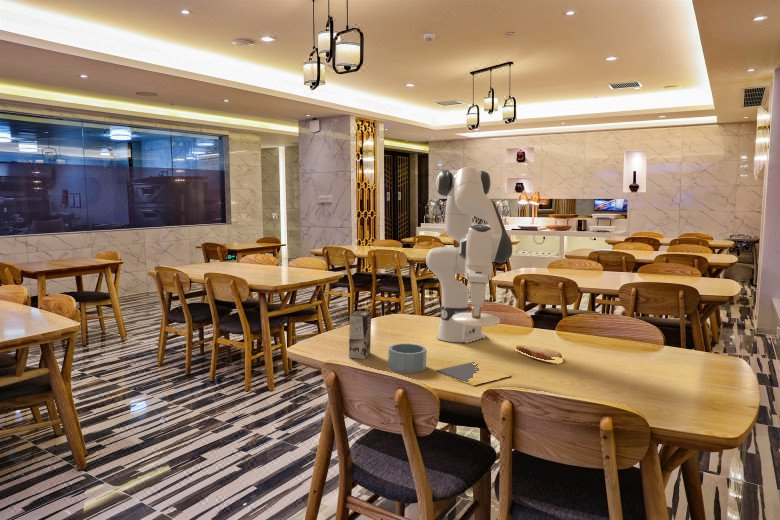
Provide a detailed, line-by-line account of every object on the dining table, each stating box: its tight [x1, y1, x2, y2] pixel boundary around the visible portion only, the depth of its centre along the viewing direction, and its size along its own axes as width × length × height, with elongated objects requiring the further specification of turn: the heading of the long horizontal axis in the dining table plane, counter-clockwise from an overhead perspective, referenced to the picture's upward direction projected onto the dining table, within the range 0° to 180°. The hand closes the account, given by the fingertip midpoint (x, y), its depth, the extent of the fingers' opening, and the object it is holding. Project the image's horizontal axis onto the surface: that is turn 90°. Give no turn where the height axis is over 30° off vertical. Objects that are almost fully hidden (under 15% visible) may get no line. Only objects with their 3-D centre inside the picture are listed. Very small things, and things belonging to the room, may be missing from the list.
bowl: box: [387, 343, 427, 374], centre depth 195 cm, size 13×13×7 cm
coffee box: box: [348, 310, 372, 360], centre depth 208 cm, size 9×6×16 cm
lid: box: [452, 306, 501, 327], centre depth 188 cm, size 16×16×4 cm
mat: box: [436, 361, 479, 382], centre depth 190 cm, size 18×18×1 cm
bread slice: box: [515, 344, 563, 360], centre depth 213 cm, size 18×18×4 cm
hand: (476, 314), depth 188 cm, fingers closed on lid, 3 cm apart
